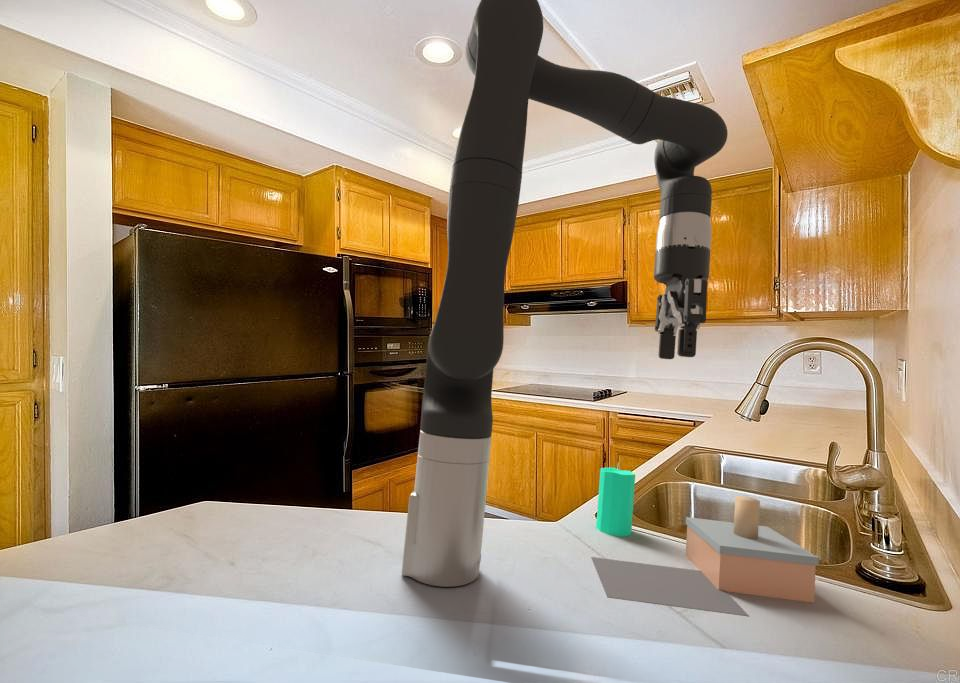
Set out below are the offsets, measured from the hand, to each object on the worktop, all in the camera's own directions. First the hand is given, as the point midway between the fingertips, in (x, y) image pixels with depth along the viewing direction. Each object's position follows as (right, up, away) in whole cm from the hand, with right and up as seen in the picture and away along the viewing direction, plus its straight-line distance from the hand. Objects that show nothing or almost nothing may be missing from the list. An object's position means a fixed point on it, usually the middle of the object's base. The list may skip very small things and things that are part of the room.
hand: (675, 357), depth 67 cm
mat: (-5, -29, -8) cm, 31 cm away
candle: (-6, -31, +12) cm, 34 cm away
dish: (+8, -31, -3) cm, 32 cm away
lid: (+9, -26, -3) cm, 27 cm away
